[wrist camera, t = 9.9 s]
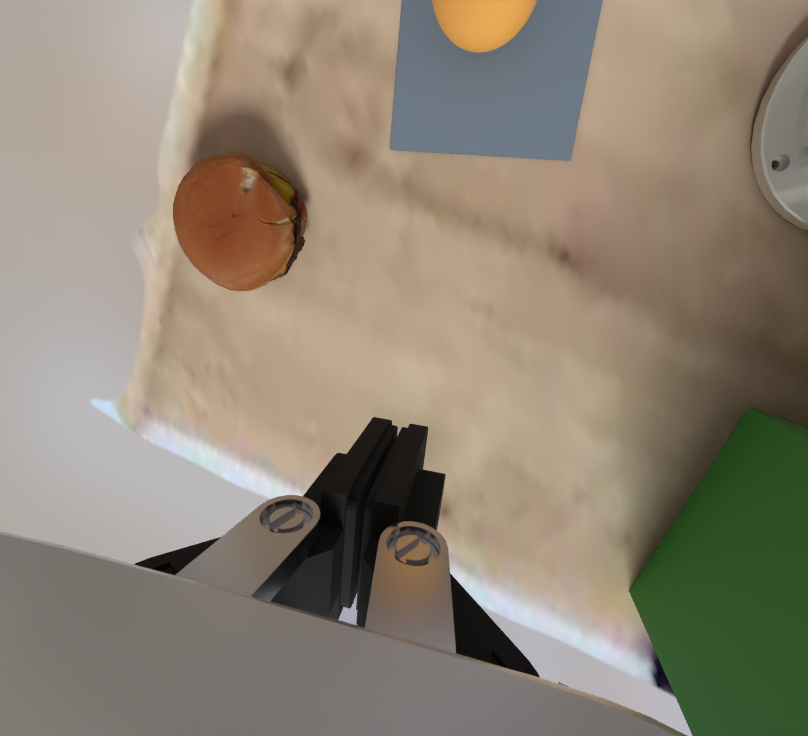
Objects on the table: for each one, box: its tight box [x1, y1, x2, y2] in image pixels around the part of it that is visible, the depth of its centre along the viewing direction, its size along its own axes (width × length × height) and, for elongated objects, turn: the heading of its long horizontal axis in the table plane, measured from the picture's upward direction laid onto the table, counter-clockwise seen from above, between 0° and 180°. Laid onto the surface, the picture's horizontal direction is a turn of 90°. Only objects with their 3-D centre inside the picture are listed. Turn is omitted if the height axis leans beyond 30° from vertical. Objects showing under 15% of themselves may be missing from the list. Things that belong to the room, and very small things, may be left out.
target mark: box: [390, 0, 602, 161], centre depth 24 cm, size 12×12×1 cm
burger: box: [173, 152, 307, 291], centre depth 28 cm, size 10×9×5 cm
